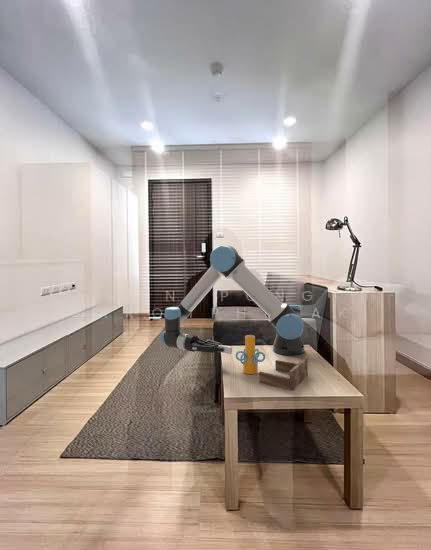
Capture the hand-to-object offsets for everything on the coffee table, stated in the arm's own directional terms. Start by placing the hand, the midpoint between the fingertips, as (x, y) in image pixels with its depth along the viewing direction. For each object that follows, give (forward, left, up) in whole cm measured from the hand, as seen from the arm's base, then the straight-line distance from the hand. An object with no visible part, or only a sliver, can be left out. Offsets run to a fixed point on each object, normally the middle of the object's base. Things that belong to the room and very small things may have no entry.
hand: (231, 350), depth 136 cm
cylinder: (-6, +7, -8) cm, 12 cm away
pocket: (-15, +18, -7) cm, 25 cm away
